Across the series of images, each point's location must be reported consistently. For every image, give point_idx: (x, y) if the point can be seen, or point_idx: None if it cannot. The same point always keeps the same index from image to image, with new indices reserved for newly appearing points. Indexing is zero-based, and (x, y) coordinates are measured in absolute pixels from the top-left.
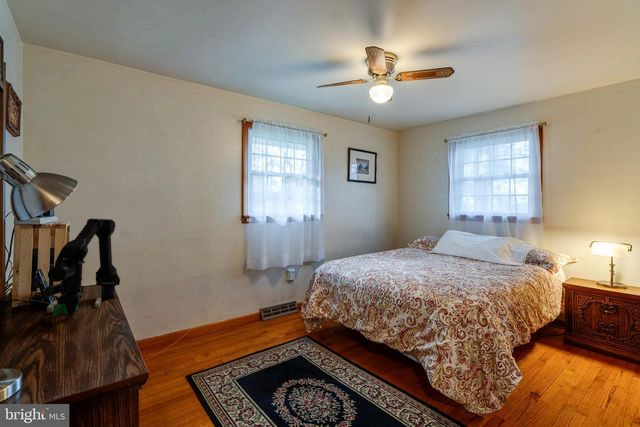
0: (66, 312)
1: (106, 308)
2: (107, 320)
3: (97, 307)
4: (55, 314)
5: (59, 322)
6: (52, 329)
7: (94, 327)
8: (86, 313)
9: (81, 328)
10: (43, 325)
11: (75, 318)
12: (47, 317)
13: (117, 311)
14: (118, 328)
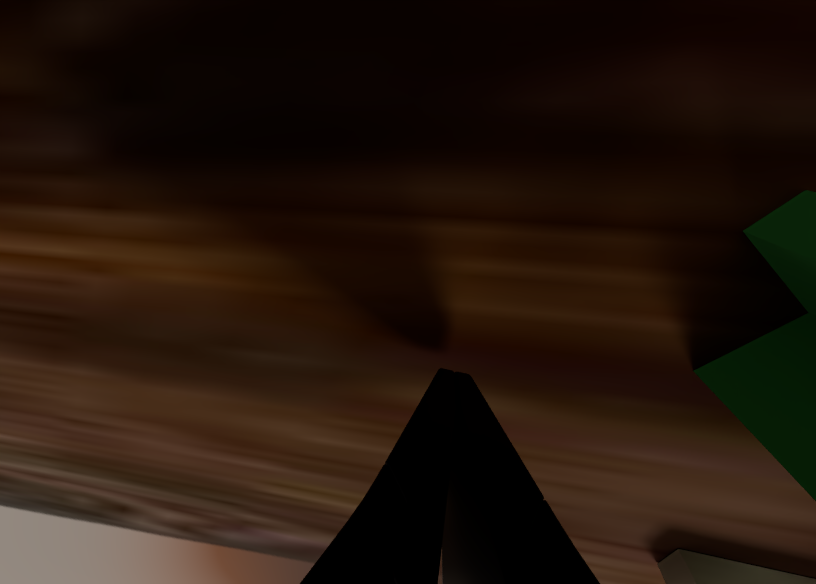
0: (740, 372)
1: None
2: (221, 506)
3: (668, 564)
4: (776, 236)
5: (314, 248)
6: (16, 155)
7: (65, 433)
8: (534, 478)
9: (45, 374)
10: (239, 23)
11: (401, 392)
12: (796, 93)
13: None
14: (37, 497)
